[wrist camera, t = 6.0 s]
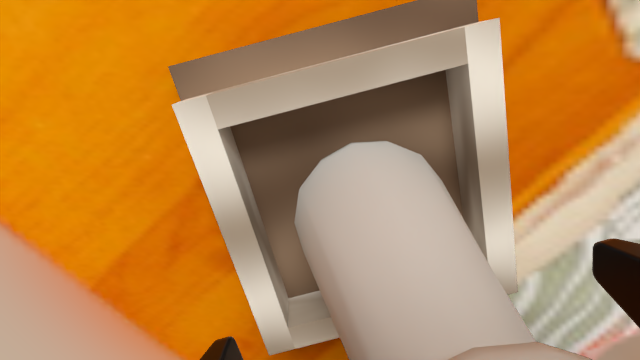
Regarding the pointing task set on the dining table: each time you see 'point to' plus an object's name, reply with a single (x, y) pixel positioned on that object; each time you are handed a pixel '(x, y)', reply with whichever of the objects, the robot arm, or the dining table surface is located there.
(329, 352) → the dining table surface
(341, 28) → the shaker stand
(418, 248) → the salt shaker
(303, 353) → the dining table surface
